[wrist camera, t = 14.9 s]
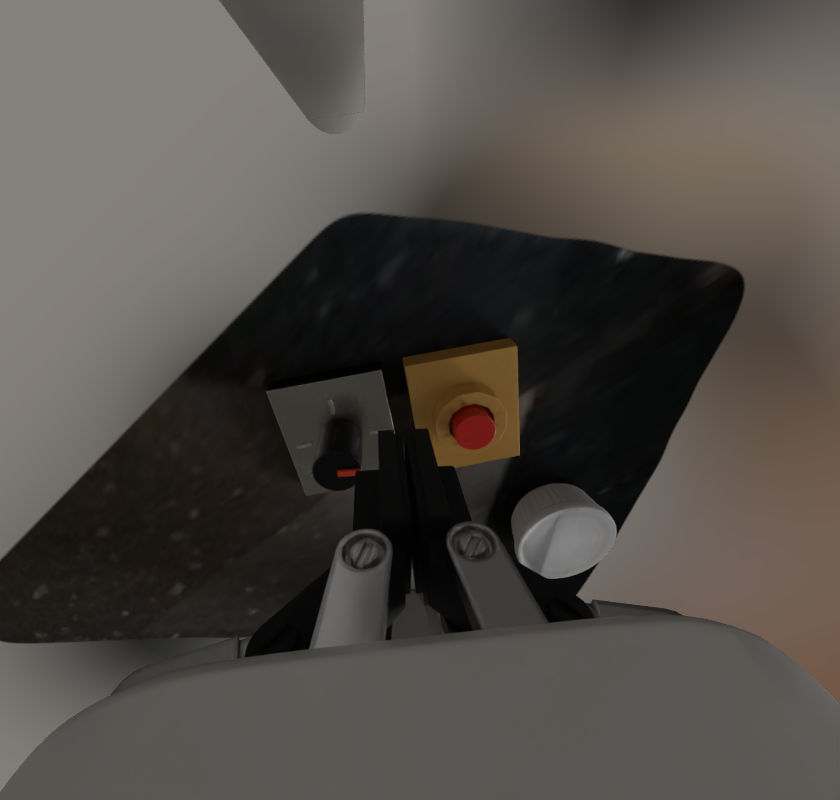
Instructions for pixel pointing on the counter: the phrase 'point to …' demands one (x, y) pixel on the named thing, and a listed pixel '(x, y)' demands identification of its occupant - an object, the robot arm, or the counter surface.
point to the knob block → (466, 397)
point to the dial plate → (331, 413)
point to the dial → (338, 455)
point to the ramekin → (561, 531)
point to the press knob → (473, 427)
